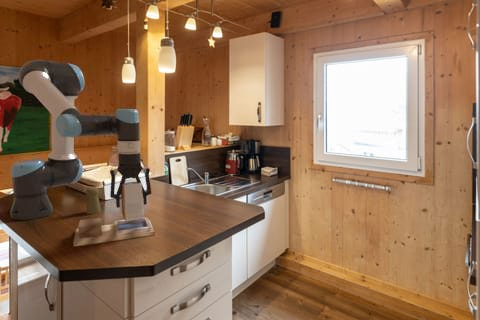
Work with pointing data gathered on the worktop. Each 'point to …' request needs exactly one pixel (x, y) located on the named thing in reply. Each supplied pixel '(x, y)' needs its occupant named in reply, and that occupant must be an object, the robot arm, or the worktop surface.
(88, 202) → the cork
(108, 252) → the worktop surface
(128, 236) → the board
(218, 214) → the worktop surface
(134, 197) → the small box
